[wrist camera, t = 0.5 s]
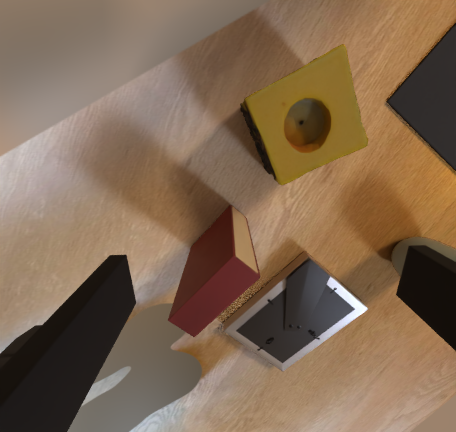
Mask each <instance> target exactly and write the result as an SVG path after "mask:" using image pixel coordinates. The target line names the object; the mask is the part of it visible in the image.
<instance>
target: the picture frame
mask: <svg viewBox="0 0 456 432" xmlns="http://www.w3.org/2000/svg"><path fill="white" fill-rule="evenodd" d="M367 309H368V308H367V307H366V306H365V304H364V303H363V302H362V301H361V300H360V299H359V298H358V297H357V296H356V295H354V294H353V293H352V292H351V291H350V290H349V289H348V288H347V287H345V286H344V285H343V284H342V283H341V282H340V281H339V280H337V279H336V278H335V277H334V276H333V275H332V274H331V273H330V272H328V271H327V270H326V269H325V268H324V267H323V266H322V265H321V264H319V263H318V262H317V261H316V260H315V259H314V258H313V257H312V256H310V255H309V254H308V253H307V252H306V251H304V252H303V253H302V254H300V255H299V256H298V257H297V258H296V259H295V260H294V261H292V262H291V263H290V264H289V265H288V266H287V267H286V268H285V269H283V270H282V271H281V272H280V273H279V274H278V275H277V276H276V277H274V278H273V279H272V280H271V281H270V282H269V283H268V284H266V285H265V286H264V287H263V288H262V289H261V290H260V291H259V292H257V293H256V294H255V295H254V296H253V297H252V298H251V299H249V300H248V301H247V302H246V303H245V304H244V305H243V306H242V307H240V308H239V309H238V310H237V311H236V312H235V313H234V314H233V315H231V316H230V317H229V318H228V319H227V320H226V321H225V322H224V324H223V331H224V332H225V333H227V334H228V335H230V336H231V337H233V338H234V339H236V340H237V341H239V342H240V343H242V344H243V345H244V346H246V347H247V348H249V349H250V350H252V351H253V352H255V353H256V354H258V355H259V356H261V357H262V358H264V359H265V360H267V361H268V362H269V363H271V364H272V365H274V366H275V367H277V368H278V369H280V370H281V371H284V370H285V369H287V368H288V367H289V366H291V365H292V364H294V363H295V362H296V361H298V360H299V359H300V358H302V357H303V356H305V355H306V354H307V353H309V352H310V351H311V350H313V349H314V348H315V347H317V346H318V345H320V344H321V343H322V342H324V341H325V340H326V339H328V338H329V337H331V336H332V335H333V334H335V333H336V332H337V331H339V330H340V329H341V328H343V327H344V326H346V325H347V324H348V323H350V322H351V321H352V320H354V319H355V318H356V317H358V316H359V315H361V314H362V313H363V312H365V311H366V310H367Z"/></svg>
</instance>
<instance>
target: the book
mask: <svg viewBox="0 0 456 432" xmlns="http://www.w3.org/2000/svg"><path fill="white" fill-rule="evenodd" d="M259 278H260V273H259V269H258V265H257V260H256V256H255V252H254V248H253V243H252V239H251V235H250V230H249V226H248V222H247V218H246V217H245V216H243V215H242V214H241V213H240V212H239V211H238V210H236V209H235V208H234V207H233V206H232V205H230V206H229V207H228V208H227V209H226V210H225V211H224V212H223V213H222V214H221V215H220V217H219V218H218V219H217V220H216V221H215V222H214V223H213V224H212V225H211V226H210V227H209V228H208V229H207V231H206V232H205V233H204V234H203V235H202V236H201V237H200V238H199V239H198V240H197V241H196V242H195V243H194V245H193V246H192V247H191V249H190V252H189V255H188V258H187V262H186V265H185V268H184V271H183V274H182V277H181V280H180V284H179V287H178V290H177V293H176V296H175V299H174V303H173V306H172V309H171V312H170V315H169V318H168V321H170V322H171V323H173V324H175V325H176V326H178V327H179V328H181V329H182V330H184V331H185V332H187V333H188V334H190V335H191V336H193V337H195V336H196V335H198V334H199V333H200V332H201V331H202V330H203V329H204V328H205V327H206V326H207V325H208V324H210V323H211V322H212V321H213V320H214V319H215V318H216V317H217V316H218V315H219V314H221V313H222V312H223V311H224V310H225V309H226V308H227V307H228V306H229V305H230V304H232V303H233V302H234V301H235V300H236V299H237V298H238V297H239V296H240V295H241V294H242V293H244V292H245V291H246V290H247V289H248V288H249V287H250V286H251V285H252V284H253V283H255V282H256V281H257V280H258V279H259Z"/></svg>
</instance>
